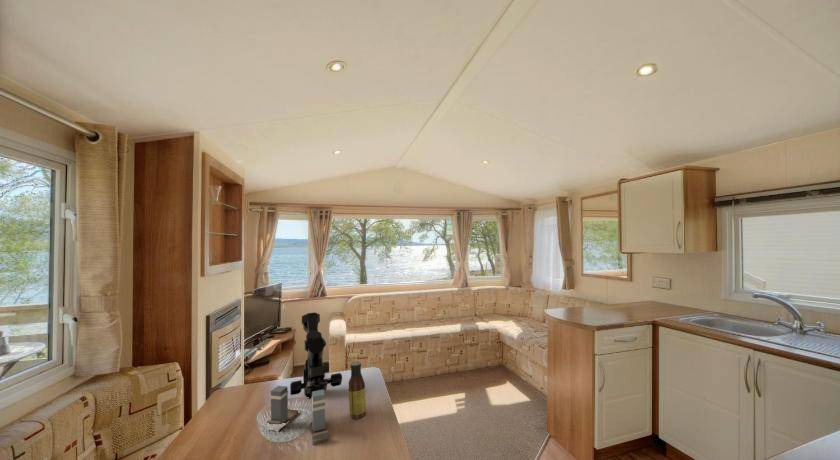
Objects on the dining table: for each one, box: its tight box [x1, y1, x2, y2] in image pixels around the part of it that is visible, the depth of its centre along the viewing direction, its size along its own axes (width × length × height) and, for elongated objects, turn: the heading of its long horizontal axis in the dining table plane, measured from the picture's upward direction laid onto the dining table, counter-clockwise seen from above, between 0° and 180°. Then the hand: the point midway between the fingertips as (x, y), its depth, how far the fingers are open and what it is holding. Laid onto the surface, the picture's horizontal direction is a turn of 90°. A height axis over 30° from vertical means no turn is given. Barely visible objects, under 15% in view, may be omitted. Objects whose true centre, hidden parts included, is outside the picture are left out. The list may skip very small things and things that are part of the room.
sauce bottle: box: [348, 361, 367, 420], centre depth 118 cm, size 6×6×20 cm
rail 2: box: [310, 421, 329, 446], centre depth 107 cm, size 12×5×3 cm, turn 23°
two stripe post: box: [311, 389, 326, 432], centre depth 109 cm, size 4×4×12 cm
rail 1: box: [266, 408, 300, 424], centre depth 114 cm, size 12×5×3 cm, turn 168°
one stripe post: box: [269, 385, 289, 424], centre depth 112 cm, size 4×4×12 cm
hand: (318, 407), depth 111 cm, fingers closed
